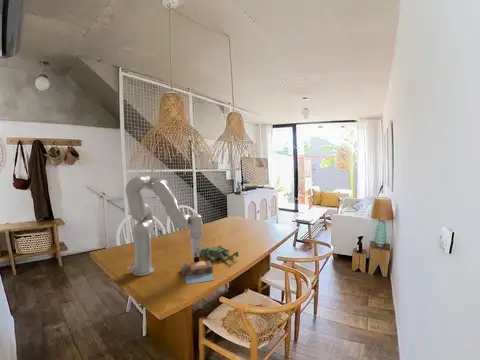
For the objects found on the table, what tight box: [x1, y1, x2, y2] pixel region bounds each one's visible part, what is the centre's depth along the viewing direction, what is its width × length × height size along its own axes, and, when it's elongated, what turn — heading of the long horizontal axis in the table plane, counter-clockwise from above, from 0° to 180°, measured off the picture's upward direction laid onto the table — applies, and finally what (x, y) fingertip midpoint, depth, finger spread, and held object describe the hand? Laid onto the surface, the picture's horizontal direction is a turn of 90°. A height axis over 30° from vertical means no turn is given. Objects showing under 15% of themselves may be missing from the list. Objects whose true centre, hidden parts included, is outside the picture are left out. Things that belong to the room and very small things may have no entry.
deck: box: [181, 260, 214, 278], centre depth 160 cm, size 18×10×4 cm, turn 107°
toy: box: [199, 245, 239, 263], centre depth 182 cm, size 21×8×30 cm
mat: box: [184, 273, 215, 285], centre depth 150 cm, size 16×10×1 cm, turn 107°
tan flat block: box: [189, 260, 206, 270], centre depth 157 cm, size 9×6×2 cm, turn 109°
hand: (196, 263), depth 161 cm, fingers closed
